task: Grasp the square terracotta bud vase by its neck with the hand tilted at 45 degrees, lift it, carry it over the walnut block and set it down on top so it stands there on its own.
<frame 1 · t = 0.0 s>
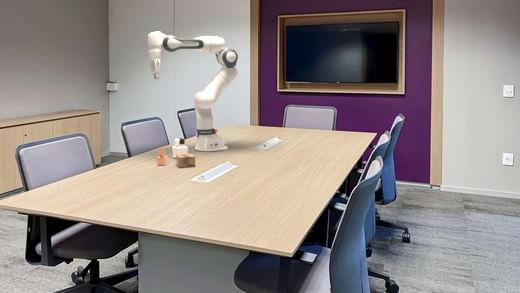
hand: (156, 79, 293), 48 cm above the table, tool pointing down, fingers open, 8 cm apart
vase: (162, 164, 265), on the table
walnut block: (185, 165, 262), on the table
medicine bottle: (180, 157, 285), on the table
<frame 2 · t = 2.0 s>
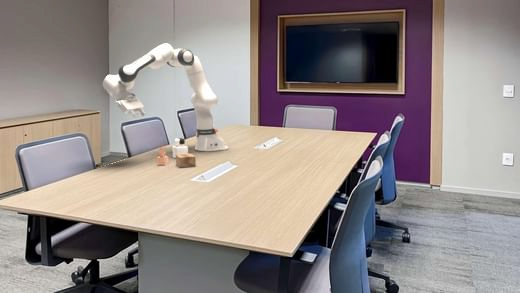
hand: (140, 116, 263), 28 cm above the table, tool tilted 45°, fingers open, 8 cm apart
nothing on the table moved.
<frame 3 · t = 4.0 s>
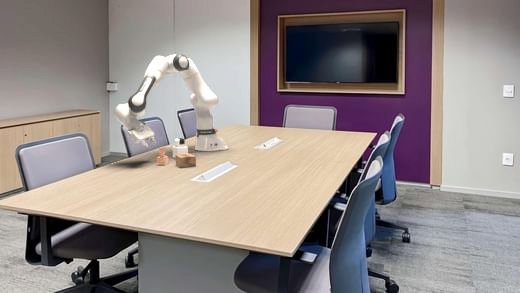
hand: (151, 145, 265), 11 cm above the table, tool tilted 45°, fingers open, 8 cm apart
nothing on the table moved.
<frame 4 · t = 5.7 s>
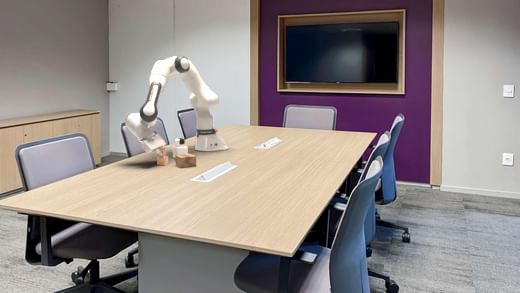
hand: (163, 154, 264), 6 cm above the table, tool tilted 45°, fingers closed on vase, 2 cm apart
vase: (162, 164, 265), on the table, touching gripper
everything else where it was.
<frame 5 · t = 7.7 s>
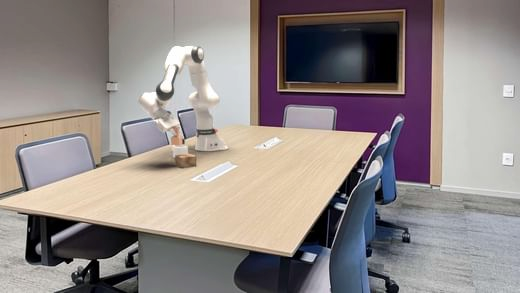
hand: (177, 134, 260), 18 cm above the table, tool tilted 45°, fingers closed on vase, 2 cm apart
vase: (176, 144, 261), point 12 cm above the table, touching gripper
everything else where it was.
when the fingers open (12 cm above the table, at t = 9.6 s): vase stays where it is, resting on walnut block.
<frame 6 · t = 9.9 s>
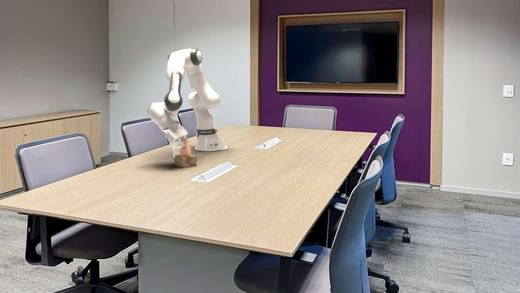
hand: (186, 144, 260), 12 cm above the table, tool tilted 45°, fingers open, 5 cm apart
vase: (185, 155, 261), point 6 cm above the table, touching walnut block
walnut block: (185, 165, 262), on the table, touching vase
everything else where it was.
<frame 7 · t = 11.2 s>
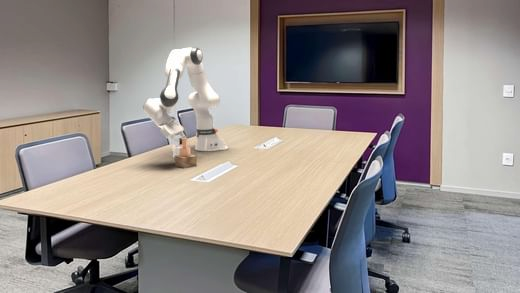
hand: (182, 140, 260), 15 cm above the table, tool tilted 45°, fingers open, 8 cm apart
nothing on the table moved.
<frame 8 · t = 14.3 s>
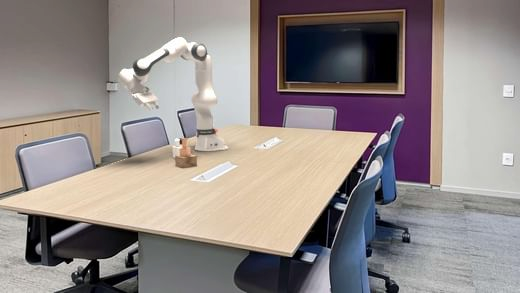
hand: (155, 108, 270), 31 cm above the table, tool tilted 45°, fingers open, 8 cm apart
nothing on the table moved.
at the end: vase inside the target area on the walnut block (0.2 cm from its centre), point 6.0 cm above the walnut block's base; vase tilted 0°; the gripper is holding nothing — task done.
